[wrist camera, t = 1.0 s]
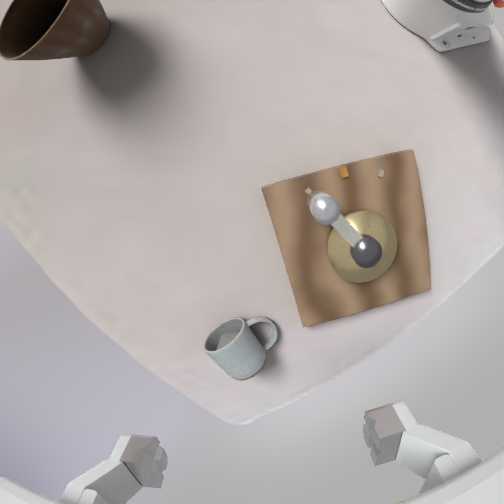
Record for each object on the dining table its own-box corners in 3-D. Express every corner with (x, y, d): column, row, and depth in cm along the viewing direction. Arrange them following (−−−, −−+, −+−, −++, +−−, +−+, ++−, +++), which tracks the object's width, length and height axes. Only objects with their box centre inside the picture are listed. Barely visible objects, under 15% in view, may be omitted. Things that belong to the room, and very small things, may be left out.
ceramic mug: (234, 361, 50) (229, 391, 43) (207, 329, 48) (198, 357, 41) (286, 337, 48) (288, 367, 41) (261, 301, 46) (259, 328, 38)
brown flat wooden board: (407, 149, 36) (414, 150, 34) (425, 283, 43) (431, 289, 40) (262, 187, 40) (261, 189, 37) (302, 320, 46) (303, 328, 44)
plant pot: (74, 5, 29) (20, -21, 14) (142, -5, 30) (94, -49, 14) (50, 77, 34) (-14, 67, 19) (115, 73, 35) (49, 51, 20)
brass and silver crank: (334, 164, 36) (349, 167, 28) (404, 243, 38) (428, 263, 31) (281, 217, 38) (283, 234, 31) (356, 290, 41) (370, 317, 34)
